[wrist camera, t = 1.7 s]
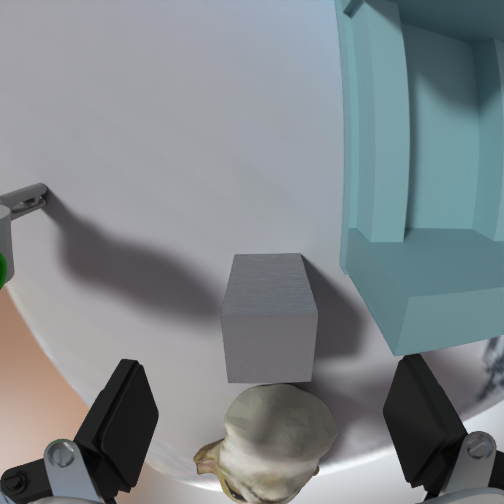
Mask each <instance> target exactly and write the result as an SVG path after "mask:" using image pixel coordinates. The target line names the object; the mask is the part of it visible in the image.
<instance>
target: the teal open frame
mask: <svg viewBox="0 0 504 504" xmlns="http://www.w3.org/2000/svg"><path fill="white" fill-rule="evenodd" d="M335 6H336V14H337V23H338V32H339V43H340V54H341V67H342V83H343V105H344V201H343V224H342V241H341V255H340V267H341V269H342V270H343V272H344V274H349V276H350V278H351V279H352V281H353V283H354V285H355V286H356V288H357V290H358V291H359V293H360V295H361V297H362V298H363V300H364V302H365V304H366V305H367V307H368V309H369V311H370V313H371V314H372V316H373V318H374V320H375V322H376V323H377V325H378V327H379V329H380V331H381V333H382V335H383V336H384V338H385V340H386V342H387V344H388V346H389V348H390V350H391V352H392V353H393V355H394V356H401V355H408V354H415V353H421V352H427V351H432V350H438V349H443V348H448V347H453V346H458V345H463V344H468V343H472V342H476V341H481V340H485V339H489V338H493V337H497V336H500V335H504V0H335Z"/></svg>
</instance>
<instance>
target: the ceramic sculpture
mask: <svg viewBox="0 0 504 504" xmlns="http://www.w3.org/2000/svg"><path fill="white" fill-rule="evenodd" d="M224 423H225V426H226V430H227V435H226V437H225V439H222V440H219V441H217V442H214V443H211V444H208V445H206V446H204V447H203V448H201V449H200V450H199V451H198V452H197V453H196V455H195V456H194V458H193V460H194V462H195V463H196V465H197V474H199V475H200V474H204V473H213V474H216V475H217V476H218V478H219V481H220V484H221V487H222V490H223V491H224V493H225V494H226V495H227V496H228V497H229V498H230V499H232V500H233V501H235V502H236V503H238V504H287V503H288V502H290V501H291V500H292V499H293V498H294V497H295V496H296V495H297V494H298V493H299V492H300V490H301V489H302V487H303V486H305V484H306V483H307V482H308V481H309V480H310V479H311V478H312V476H315V475H317V474H318V472H319V466H318V464H319V462H320V457H322V456H323V455H325V454H326V453H327V452H328V451H329V449H330V448H331V446H332V444H333V442H334V439H335V438H336V437H337V436H338V430H337V427H336V424H335V422H334V419H333V416H332V414H331V412H330V410H329V408H328V407H327V406H326V405H325V404H324V403H323V402H322V401H321V400H320V399H319V398H318V397H316V396H315V395H313V394H311V393H308V392H305V391H302V390H300V389H298V388H297V387H294V386H292V385H290V384H282V383H281V384H274V385H269V386H256V387H251V388H248V389H247V390H245V391H244V392H243V393H241V394H240V395H239V396H238V397H237V398H236V399H235V401H234V402H233V403H232V405H231V406H230V408H229V410H228V411H227V413H226V415H225V419H224Z"/></svg>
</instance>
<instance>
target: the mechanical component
mask: <svg viewBox="0 0 504 504" xmlns="http://www.w3.org/2000/svg"><path fill="white" fill-rule="evenodd" d="M46 190H47V187H46V186H45V185H44V184H42V183H38V184H35V185H31V186H28V187H25V188H22V189H19V190H16V191H13V192H10V193H7V194H4V195H1V196H0V289H1V288H2V286H3V285H4V284H5V283H7V282H8V281H9V280H10V279H11V278H12V277H13V275H14V262H13V252H12V239H11V221H12V220H14V219H16V218H19V217H21V216H23V215H25V214H28V213H30V212H32V211H35V210H37V209H40V208H42V207H44V206H46V201H45V200H44V199H40V196H41V195H42V194H45V193H46Z"/></svg>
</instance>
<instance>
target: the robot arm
mask: <svg viewBox="0 0 504 504" xmlns="http://www.w3.org/2000/svg"><path fill="white" fill-rule="evenodd" d="M383 415H384V418H385V421H386V424H387V426H388V429H389V432H390V435H391V438H392V441H393V444H394V446H395V449H396V452H397V455H398V458H399V461H400V464H401V467H402V470H403V473H404V476H405V480H406V481H407V482H408V483H410V484H411V487H412V488H415V487H418V486H421V485H423V486H424V489H425V493H424V495H423V497H422V499H421V501H420V503H417V504H504V453H503V452H500V451H498V450H496V442H495V440H494V439H493V437H492V436H491V435H489V434H488V433H485V432H482V431H476V432H472V433H470V434H468V433H467V431H466V429H465V427H464V425H463V423H462V422H461V420H460V418H459V416H458V414H457V413H456V411H455V409H454V407H453V406H452V404H451V402H450V400H449V399H448V397H447V395H446V394H445V392H444V390H443V389H442V387H441V386H440V385H439V383H438V382H437V380H436V378H435V377H434V375H433V374H432V372H431V370H430V369H429V367H428V366H427V364H426V362H425V361H424V359H423V358H422V356H421V355H420V354H419V353H417V354H411V355H405V356H404V357H403V359H402V360H400V361H399V363H398V366H397V370H396V373H395V376H394V379H393V382H392V385H391V388H390V391H389V394H388V396H387V399H386V402H385V405H384V408H383ZM158 417H159V413H158V409H157V407H156V404H155V401H154V398H153V395H152V392H151V389H150V386H149V383H148V380H147V377H146V374H145V371H144V367H143V366H142V365H140V364H139V362H138V361H137V360H129V359H122V360H121V361H120V362H119V364H118V366H117V367H116V369H115V371H114V373H113V374H112V376H111V378H110V379H109V381H108V383H107V385H106V386H105V388H104V390H102V391H101V392H100V393H99V395H98V397H97V398H96V400H95V402H94V404H93V405H92V407H91V409H90V411H89V413H88V414H87V416H86V418H85V420H84V421H83V423H82V425H81V427H80V429H79V431H78V432H77V434H76V436H75V438H74V440H73V441H70V440H68V439H58V440H55V441H53V442H51V443H50V444H49V445H48V446H47V447H46V449H45V451H44V458H42V459H39V460H36V461H33V462H30V463H27V464H24V465H20V466H17V467H14V468H11V469H8V470H6V471H5V472H4V473H3V475H2V477H1V480H0V504H120V503H119V502H118V499H117V498H116V496H117V494H118V491H119V490H120V491H124V492H127V493H130V490H131V487H135V486H136V484H137V481H138V478H139V475H140V472H141V468H142V466H143V463H144V460H145V457H146V454H147V451H148V448H149V445H150V442H151V439H152V436H153V433H154V430H155V427H156V424H157V422H158Z"/></svg>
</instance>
